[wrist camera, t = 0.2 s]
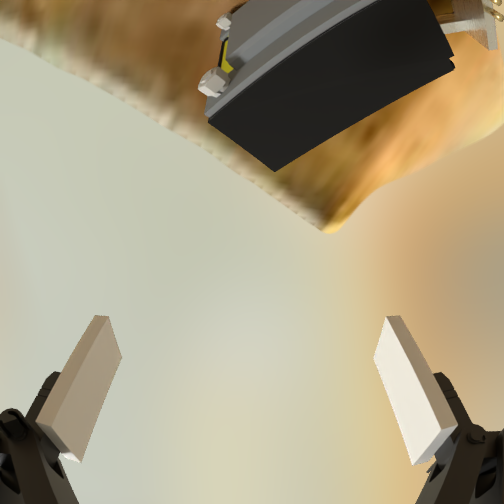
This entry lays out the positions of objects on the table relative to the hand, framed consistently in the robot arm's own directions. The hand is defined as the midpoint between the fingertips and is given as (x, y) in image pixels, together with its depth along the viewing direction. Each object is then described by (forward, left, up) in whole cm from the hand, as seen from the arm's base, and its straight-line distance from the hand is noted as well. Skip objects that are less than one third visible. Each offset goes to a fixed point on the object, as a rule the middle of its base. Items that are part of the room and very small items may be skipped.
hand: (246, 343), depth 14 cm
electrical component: (-1, +7, -35) cm, 36 cm away
